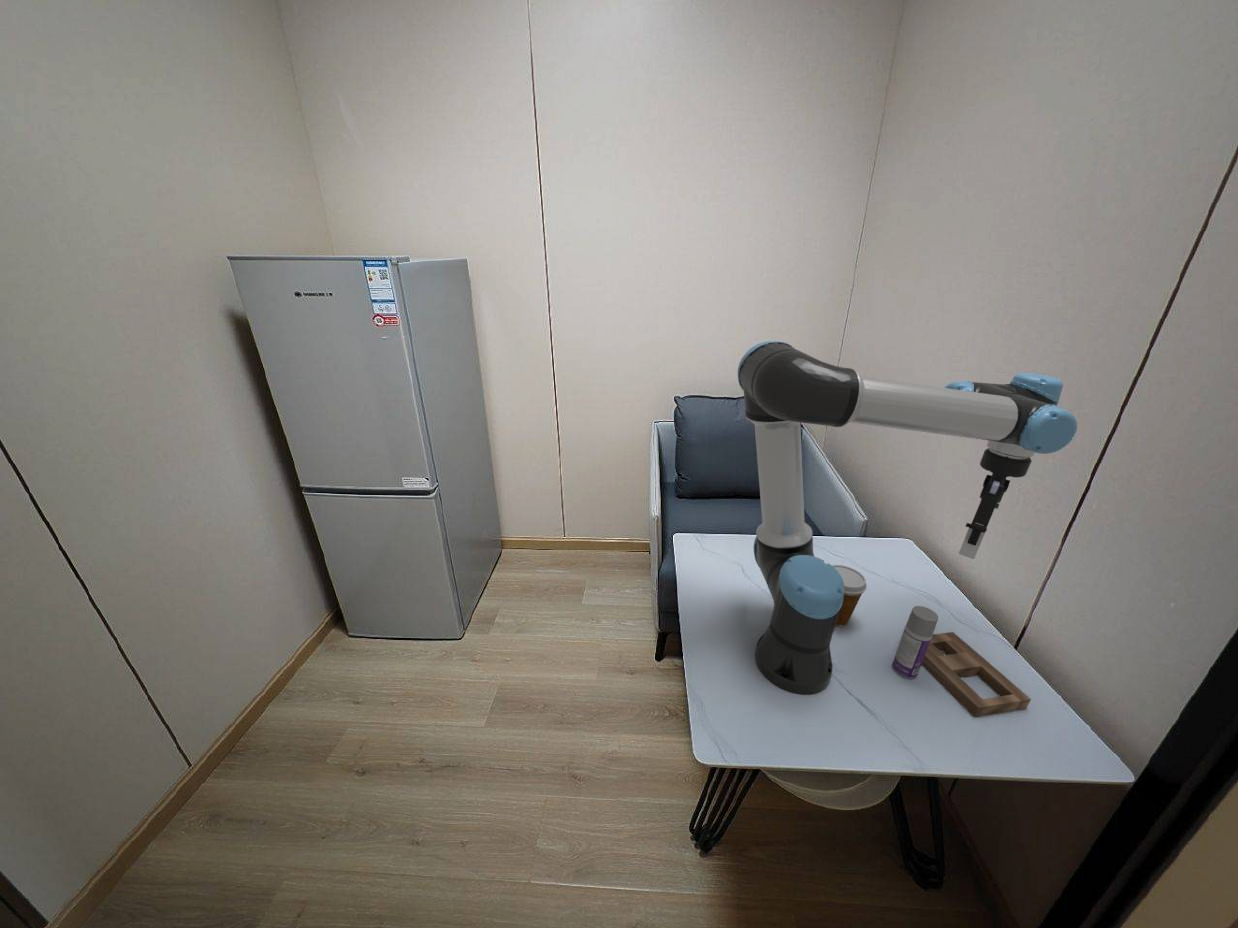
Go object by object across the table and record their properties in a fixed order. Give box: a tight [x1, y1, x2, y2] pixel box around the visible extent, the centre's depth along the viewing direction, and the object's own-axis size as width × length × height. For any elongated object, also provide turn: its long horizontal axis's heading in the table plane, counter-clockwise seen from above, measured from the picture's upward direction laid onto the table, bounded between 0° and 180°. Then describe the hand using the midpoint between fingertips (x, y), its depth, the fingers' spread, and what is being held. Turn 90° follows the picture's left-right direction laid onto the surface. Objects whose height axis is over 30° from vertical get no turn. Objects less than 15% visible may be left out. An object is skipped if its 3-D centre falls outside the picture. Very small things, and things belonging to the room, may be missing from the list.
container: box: [891, 605, 939, 680], centre depth 95 cm, size 5×5×15 cm
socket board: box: [921, 631, 1032, 718], centre depth 97 cm, size 12×18×2 cm, turn 11°
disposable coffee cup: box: [831, 564, 868, 627], centre depth 110 cm, size 10×10×12 cm
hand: (971, 543), depth 101 cm, fingers open, 13 cm apart
